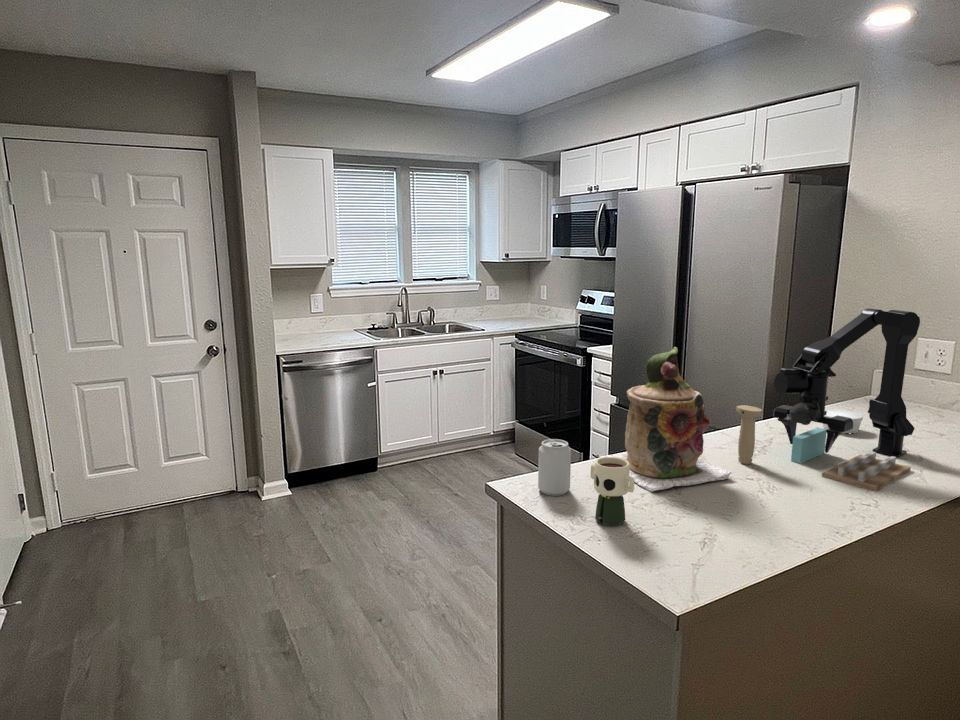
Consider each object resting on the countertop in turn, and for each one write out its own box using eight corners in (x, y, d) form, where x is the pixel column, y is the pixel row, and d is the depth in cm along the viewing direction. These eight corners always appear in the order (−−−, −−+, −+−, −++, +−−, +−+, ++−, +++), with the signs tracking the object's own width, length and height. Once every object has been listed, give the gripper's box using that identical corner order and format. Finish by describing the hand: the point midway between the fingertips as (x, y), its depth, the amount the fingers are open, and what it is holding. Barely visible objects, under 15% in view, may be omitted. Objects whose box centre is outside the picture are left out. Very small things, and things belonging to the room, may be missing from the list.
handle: (749, 468, 159) (753, 412, 156) (728, 460, 164) (732, 406, 161) (761, 464, 161) (766, 409, 158) (740, 457, 166) (744, 404, 164)
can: (549, 499, 139) (550, 449, 137) (532, 488, 145) (532, 440, 143) (576, 493, 142) (577, 444, 140) (558, 482, 149) (559, 435, 147)
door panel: (815, 451, 172) (817, 427, 171) (824, 453, 170) (826, 429, 169) (790, 461, 164) (793, 436, 162) (799, 464, 162) (802, 438, 160)
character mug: (579, 517, 130) (580, 459, 127) (600, 508, 134) (602, 452, 132) (621, 535, 121) (623, 473, 119) (642, 525, 126) (644, 465, 124)
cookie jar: (595, 461, 164) (599, 344, 158) (669, 450, 173) (675, 339, 167) (653, 495, 141) (660, 360, 136) (735, 480, 150) (745, 352, 145)
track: (859, 458, 166) (860, 447, 165) (910, 470, 156) (911, 459, 156) (821, 476, 153) (823, 464, 152) (875, 491, 143) (876, 478, 143)
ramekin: (811, 427, 194) (813, 411, 193) (835, 423, 199) (836, 407, 198) (845, 437, 184) (847, 420, 183) (869, 432, 189) (870, 416, 188)
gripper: (765, 390, 166) (760, 445, 169) (837, 404, 151) (831, 463, 154) (785, 385, 173) (780, 437, 176) (857, 397, 158) (850, 454, 161)
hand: (808, 448), depth 166 cm, fingers open, 9 cm apart
